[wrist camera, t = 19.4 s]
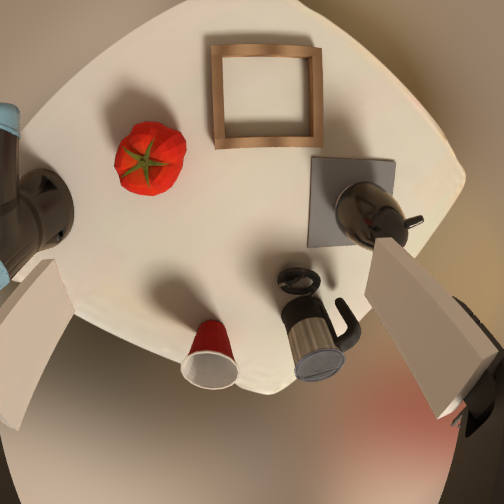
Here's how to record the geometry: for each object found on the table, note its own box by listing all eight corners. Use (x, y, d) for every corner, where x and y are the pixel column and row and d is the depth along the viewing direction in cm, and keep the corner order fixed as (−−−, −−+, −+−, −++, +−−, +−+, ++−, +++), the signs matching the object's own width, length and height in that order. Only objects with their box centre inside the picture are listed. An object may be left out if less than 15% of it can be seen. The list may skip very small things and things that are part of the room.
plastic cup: (208, 300, 53) (206, 345, 43) (247, 328, 58) (252, 372, 47) (175, 329, 56) (168, 373, 46) (213, 353, 61) (213, 396, 50)
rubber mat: (307, 247, 50) (308, 248, 49) (311, 157, 42) (312, 157, 42) (383, 242, 51) (384, 243, 50) (394, 161, 43) (396, 162, 43)
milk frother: (302, 334, 60) (318, 387, 47) (246, 304, 55) (252, 361, 42) (348, 291, 56) (377, 341, 42) (295, 252, 50) (317, 303, 37)
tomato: (144, 196, 43) (127, 214, 35) (117, 138, 38) (94, 144, 30) (202, 170, 42) (196, 184, 34) (176, 108, 37) (163, 106, 29)
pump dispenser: (387, 211, 47) (435, 248, 34) (342, 240, 49) (379, 288, 36) (366, 164, 43) (418, 189, 29) (317, 195, 45) (354, 232, 32)
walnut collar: (215, 147, 40) (215, 149, 38) (211, 49, 33) (210, 45, 31) (317, 145, 41) (322, 147, 39) (316, 51, 34) (321, 48, 32)
